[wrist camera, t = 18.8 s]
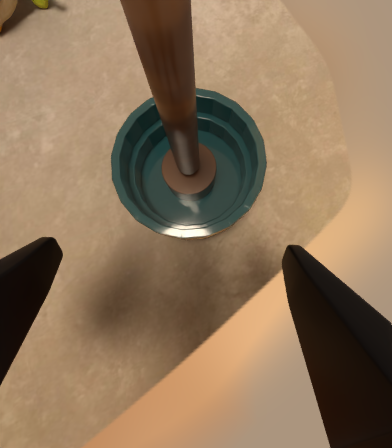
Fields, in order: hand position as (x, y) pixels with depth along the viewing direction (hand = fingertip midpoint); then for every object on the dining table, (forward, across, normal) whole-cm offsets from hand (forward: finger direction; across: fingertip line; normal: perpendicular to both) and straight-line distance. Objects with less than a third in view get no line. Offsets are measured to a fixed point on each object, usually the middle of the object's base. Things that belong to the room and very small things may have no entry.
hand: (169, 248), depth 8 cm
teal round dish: (+11, 0, +3) cm, 11 cm away
